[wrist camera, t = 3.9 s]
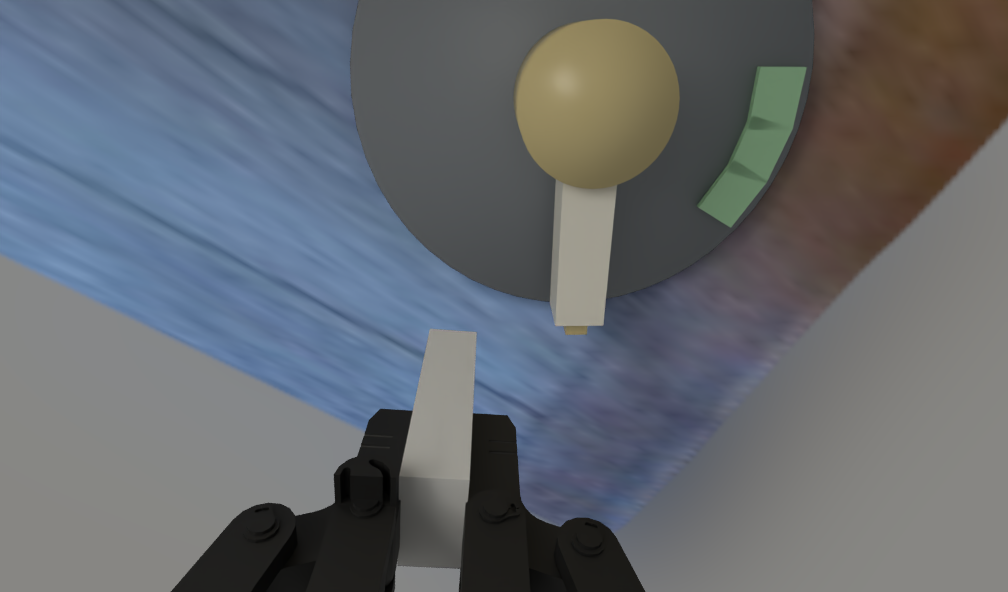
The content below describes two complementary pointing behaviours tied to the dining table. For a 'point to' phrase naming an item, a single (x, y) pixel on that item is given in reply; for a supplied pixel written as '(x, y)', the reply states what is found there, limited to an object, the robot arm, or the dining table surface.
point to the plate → (510, 167)
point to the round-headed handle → (592, 143)
